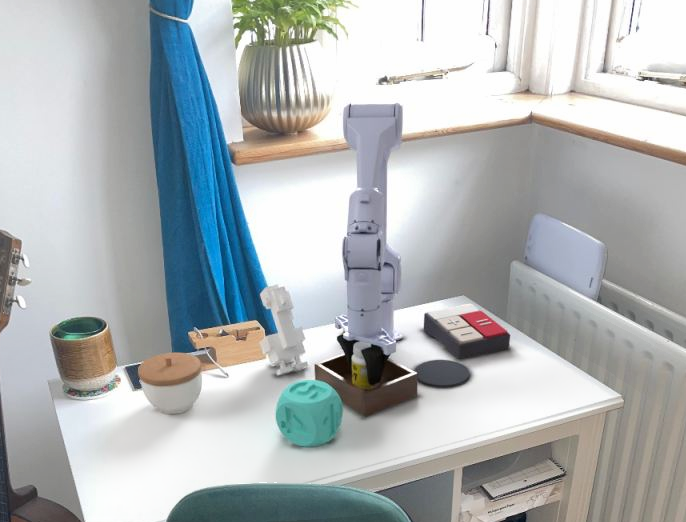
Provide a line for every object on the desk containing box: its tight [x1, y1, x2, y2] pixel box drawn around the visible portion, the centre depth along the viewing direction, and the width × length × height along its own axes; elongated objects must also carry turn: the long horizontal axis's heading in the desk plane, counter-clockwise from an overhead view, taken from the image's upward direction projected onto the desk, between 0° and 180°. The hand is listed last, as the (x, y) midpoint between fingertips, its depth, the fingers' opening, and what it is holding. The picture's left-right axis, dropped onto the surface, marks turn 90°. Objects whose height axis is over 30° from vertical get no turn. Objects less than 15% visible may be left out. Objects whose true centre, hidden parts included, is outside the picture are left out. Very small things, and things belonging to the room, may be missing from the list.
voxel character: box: [259, 283, 309, 376], centre depth 147 cm, size 7×12×15 cm
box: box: [314, 352, 419, 418], centre depth 141 cm, size 15×12×4 cm
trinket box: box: [137, 352, 203, 415], centre depth 138 cm, size 11×11×9 cm
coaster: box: [413, 359, 471, 388], centre depth 146 cm, size 10×10×1 cm
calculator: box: [423, 303, 511, 360], centre depth 157 cm, size 11×4×15 cm
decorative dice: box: [275, 379, 344, 448], centre depth 128 cm, size 8×8×8 cm
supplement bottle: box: [352, 341, 379, 391], centre depth 139 cm, size 5×5×8 cm
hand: (365, 377), depth 141 cm, fingers closed on supplement bottle, 5 cm apart
